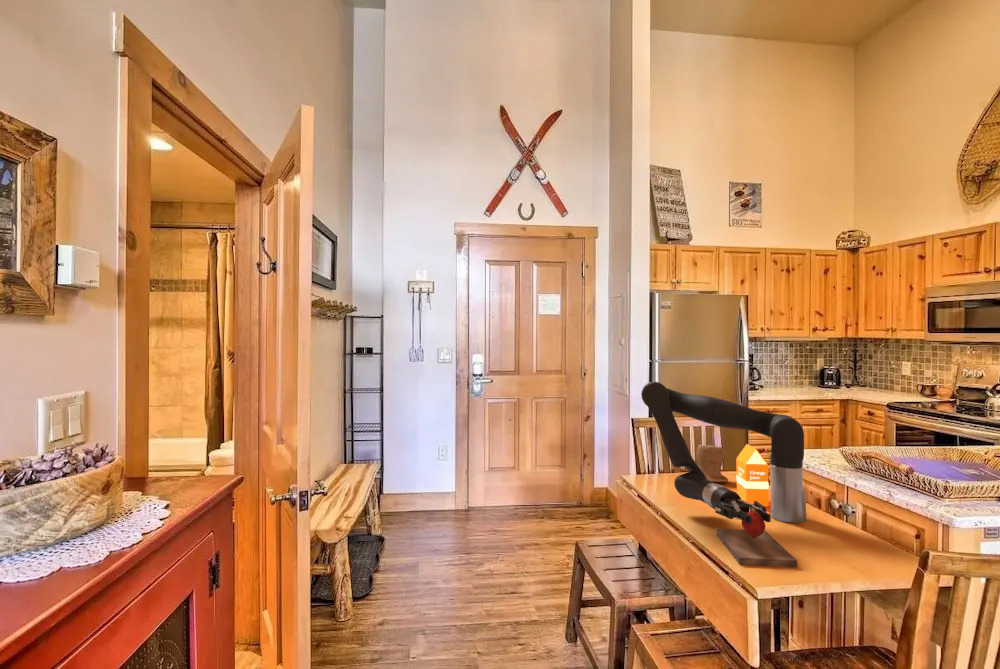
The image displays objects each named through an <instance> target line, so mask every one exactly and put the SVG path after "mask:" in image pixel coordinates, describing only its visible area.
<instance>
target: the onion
mask: <svg viewBox="0 0 1000 669" xmlns="http://www.w3.org/2000/svg"><path fill="white" fill-rule="evenodd" d="M747 514H749V515H751V518H752V523H751V524H748V523H746V522H744V521H742V520H741V527H742V530H745V532H746V533H748V534H749V535H750V536H751V537H752V538H756V537H758V536H760V535H761V534H762V533H763V532H764V531H766V523H765V522H766V521H764V520H763V518H762V517H761V516H760V515H759V514H758V513H757V512H756V511H755V510H754V509H751V510H750V509H749V512H748V513H747Z"/></svg>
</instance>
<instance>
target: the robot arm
mask: <svg viewBox="0 0 1000 669" xmlns="http://www.w3.org/2000/svg"><path fill="white" fill-rule="evenodd" d="M641 399H642V402H643V403H644V404H645V406H647V407H648V409H649V411H650V413H651V414H652V416H653V418H654V420H655V422H656V425H657V428H658V430H659V433H660V435H661V436H660V437H661V439H662V442H663V444H664V448H665V450H666V453H667V455H668V458H669V460H670V463H671V465H672V466H673V467H674V468H686V470H688V471H687V472H684V473H682V474H679V475H678V476H676V477H675V479H674V483H673V484H674V487H675V490H676V491H677V492H678V494H680V495H681V496H682V497H683V498H686V499H691V500H695V501H701V502H703V503H705V504H706V505H707V506H709V507H710V508H712V509H713V510H714V512H715V513H716V514H718V515H720V516H722V517H725V518H727V519H729V520H734V519H735V520H741V522H742V521H744V522H746V523H748V524H751V523H752V518H751V515H749V514H747V513H748V512H750V510H751V509H754V510H755V511H756V512H757V513H758V514H759V515H760V516H761V517H762V518H763V520H764V522H766V523H771V521H772V519H771V518H773V519H774V520H777V521H780V522H784V523H785V522H786V523H791V524H792V523H793V524H794V523H798V524H799V523H802V522H805V523H806V522H807V492H806V491H805V490H804V486H803V485H804V484H803V483H804V481H803V480H804V476H803V474H804V472H803V463H804V458H805V431H804V428H803V426H802V424H801V423H800V422H799V421H798V420H796V419H795V418H794V417H792V416H789V415H787V414H781V413H772V412H767V411H761V410H757V409H753V408H751V407H747V406H744V405H742V404H738V403H736V402H732V401H729V400H725V399H721V398H717V397H712V396H708V395H702V394H701V395H700V394H691V393H684V392H683V393H682V392H679V391H677V390H673V389H670V388H668V387H666V386H665V385H664V384H663V383H662V382H658V381H650V382H648V383H646V384H645V385H644V386H643V388H642V390H641ZM674 413H677V414H681V415H684V416H686V417H688V418H692V419H695V420H697V421H700V422H703V423H706V424H710V425H712V426H716V427H720V428H725V429H732V430H742V431H750V432H753V433H757V434H760V435H764V436H766V437H768V438H770V439H771V442H770V446H771V450H770V455H769V472H770V473H769V475H770V477H769V482H770V487H769V489H770V513H768V512H767V506H763V505H762V504H760V503H759V502H757V501H753V504H751V503H748V502H746V501H744V500H742V499H741V498H740V496H739V495H738V494H737V491H734V490H731V489H730V488H728V487H726V486H724V485H722V484H718V483H717V482H712V481H709V480H707V478H706V476H705V474H704V473H703V472H702V470H701V469H700V468H699V464H697V462H696V461H695V460H694V458H693V457H692V454H691V453H690V450H689V448H688V447H689V446H688V445H687V443H686V440H685V438H684V436H683V434H682V432H681V430H680V428H679V426H678V423H677V421H676V419H675V416H674Z"/></svg>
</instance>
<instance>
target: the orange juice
mask: <svg viewBox="0 0 1000 669" xmlns="http://www.w3.org/2000/svg"><path fill="white" fill-rule="evenodd" d="M735 459H736V493H737V494H738V495H739V496H740V498H741V499H742V500H744V501H746V502H748V503H751V504H753V501H757V502H759V503H760V504H762V505H763V506H765V507H769V500H770V499H769V489H770V487H769V464H768V463H767V462H766V460H765V459H764V458H763V456H762V455H761V454H760V452H759V450H757V448H756V447H755V446H752V445H749V444H748V443H746V445H744V448H743V449H742V450H741V451H740V453H739V454H738V455H737V457H736V458H735Z"/></svg>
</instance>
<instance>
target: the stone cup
mask: <svg viewBox="0 0 1000 669" xmlns="http://www.w3.org/2000/svg"><path fill="white" fill-rule="evenodd" d="M724 457H725V455H724V449H723V448H722V447H721V446H718V445H717V446H716V445H709V444H707V445H706V444H698V445H697V449H696V459H697V462H698V467H699V468H700V469H701V470H702V472H703V473H704V474H705V476H706V478H707V480H709V481H712V482H714V483H726V482H727V483H728V482H729V479H728V478H727V477H726V476H725V475H723V474H722V472H721V471H722V466H723V462H724Z"/></svg>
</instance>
